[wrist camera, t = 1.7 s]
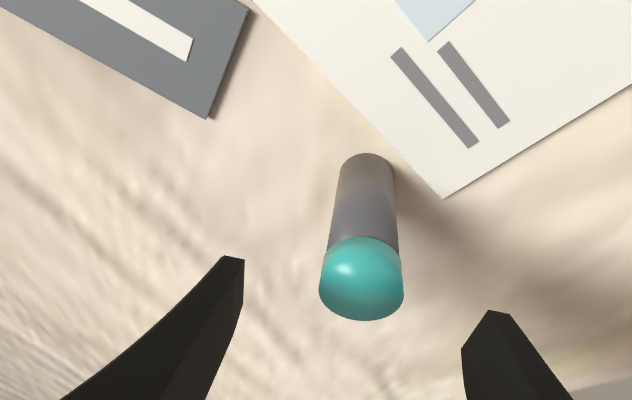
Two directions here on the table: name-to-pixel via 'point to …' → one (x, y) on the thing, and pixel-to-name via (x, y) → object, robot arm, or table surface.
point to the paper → (464, 71)
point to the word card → (149, 40)
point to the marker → (363, 243)
